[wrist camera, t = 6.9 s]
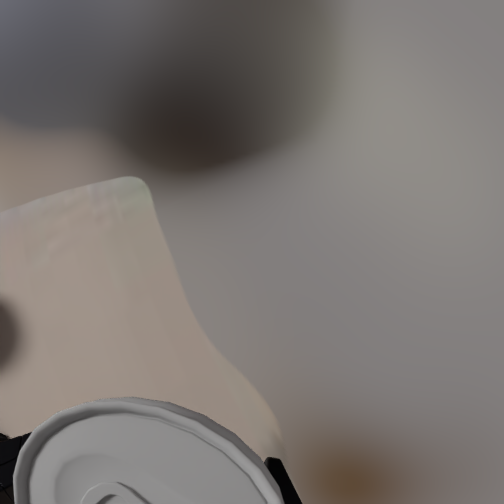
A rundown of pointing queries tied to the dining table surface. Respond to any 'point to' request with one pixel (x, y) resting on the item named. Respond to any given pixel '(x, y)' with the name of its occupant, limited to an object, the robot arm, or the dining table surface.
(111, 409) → the beverage can
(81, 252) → the dining table surface
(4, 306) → the dining table surface
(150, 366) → the dining table surface
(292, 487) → the robot arm
